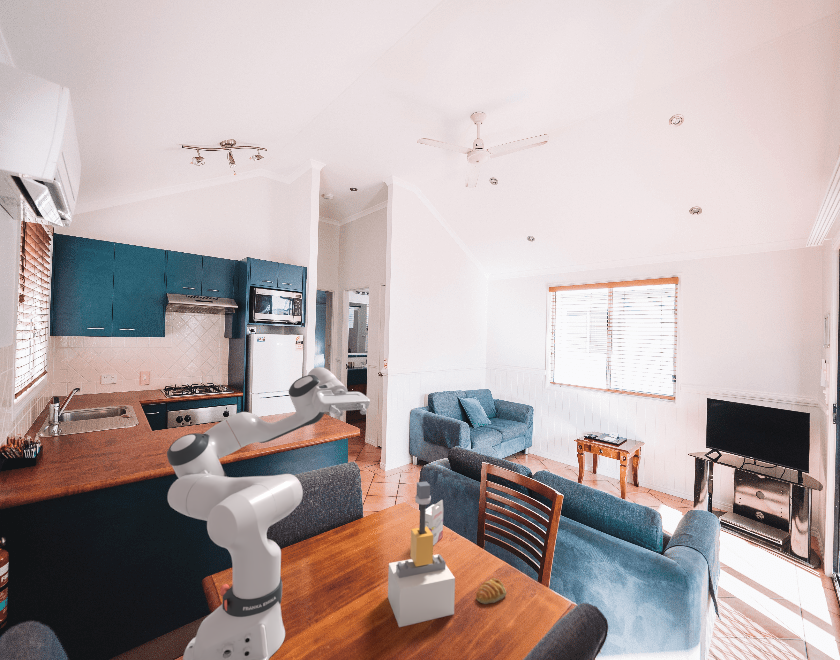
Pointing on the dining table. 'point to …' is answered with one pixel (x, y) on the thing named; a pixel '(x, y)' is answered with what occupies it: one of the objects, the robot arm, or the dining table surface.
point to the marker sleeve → (421, 547)
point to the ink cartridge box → (435, 520)
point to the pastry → (491, 591)
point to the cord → (422, 502)
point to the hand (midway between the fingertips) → (353, 413)
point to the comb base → (420, 591)
